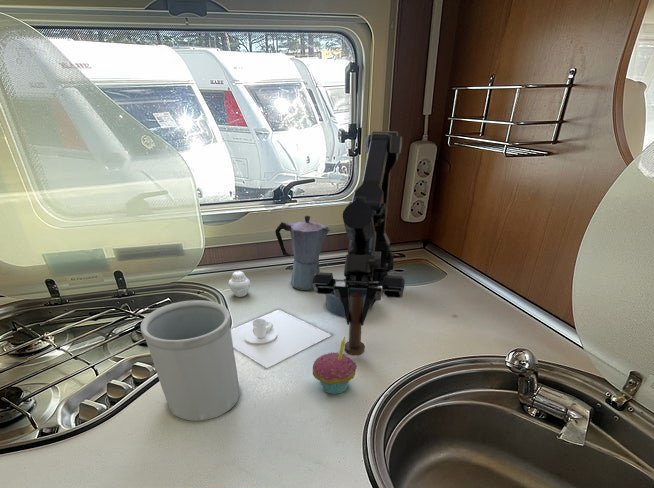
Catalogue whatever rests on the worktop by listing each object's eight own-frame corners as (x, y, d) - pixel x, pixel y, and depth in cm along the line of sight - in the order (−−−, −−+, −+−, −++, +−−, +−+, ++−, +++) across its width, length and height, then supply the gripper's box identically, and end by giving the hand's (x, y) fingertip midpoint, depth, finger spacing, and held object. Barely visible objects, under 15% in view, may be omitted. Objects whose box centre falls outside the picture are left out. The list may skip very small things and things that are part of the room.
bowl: (316, 306, 114) (316, 289, 111) (346, 293, 121) (346, 276, 118) (350, 321, 107) (351, 303, 104) (380, 305, 114) (381, 288, 111)
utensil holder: (217, 431, 74) (198, 346, 64) (148, 414, 79) (120, 331, 68) (255, 385, 86) (245, 306, 75) (193, 371, 90) (175, 295, 80)
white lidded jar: (255, 292, 122) (253, 269, 118) (242, 300, 118) (239, 276, 114) (239, 288, 125) (236, 265, 121) (225, 296, 121) (221, 272, 117)
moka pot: (330, 291, 122) (330, 220, 110) (277, 292, 123) (271, 221, 111) (330, 278, 130) (330, 210, 118) (280, 279, 130) (275, 211, 118)
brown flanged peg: (340, 350, 92) (341, 295, 84) (353, 342, 95) (355, 288, 87) (355, 358, 90) (358, 302, 82) (368, 349, 92) (372, 294, 85)
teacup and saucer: (265, 324, 106) (264, 309, 104) (286, 335, 102) (285, 320, 99) (237, 337, 102) (235, 321, 99) (257, 349, 97) (255, 333, 95)
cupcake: (360, 379, 87) (362, 327, 80) (348, 403, 80) (350, 350, 73) (320, 372, 89) (319, 321, 82) (306, 395, 83) (304, 342, 76)
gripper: (312, 232, 82) (304, 309, 80) (409, 235, 80) (403, 314, 78) (319, 258, 93) (312, 326, 91) (404, 261, 91) (399, 331, 89)
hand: (354, 324), depth 87 cm, fingers closed on brown flanged peg, 2 cm apart
